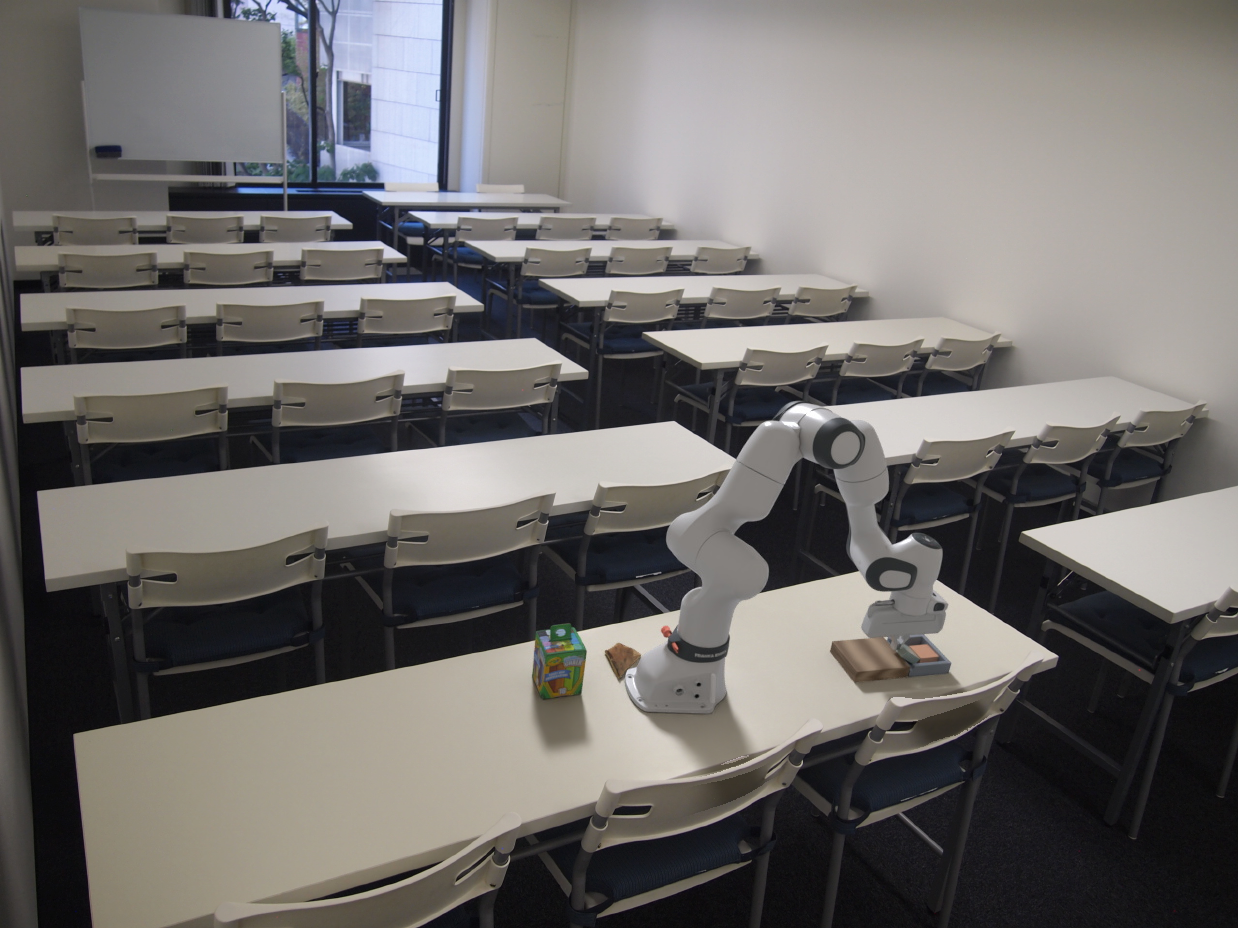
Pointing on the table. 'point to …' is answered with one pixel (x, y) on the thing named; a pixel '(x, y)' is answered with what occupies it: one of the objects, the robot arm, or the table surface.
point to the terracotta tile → (924, 653)
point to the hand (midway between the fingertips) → (895, 648)
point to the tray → (930, 667)
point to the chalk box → (559, 661)
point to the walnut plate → (869, 659)
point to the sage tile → (908, 654)
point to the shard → (621, 658)
